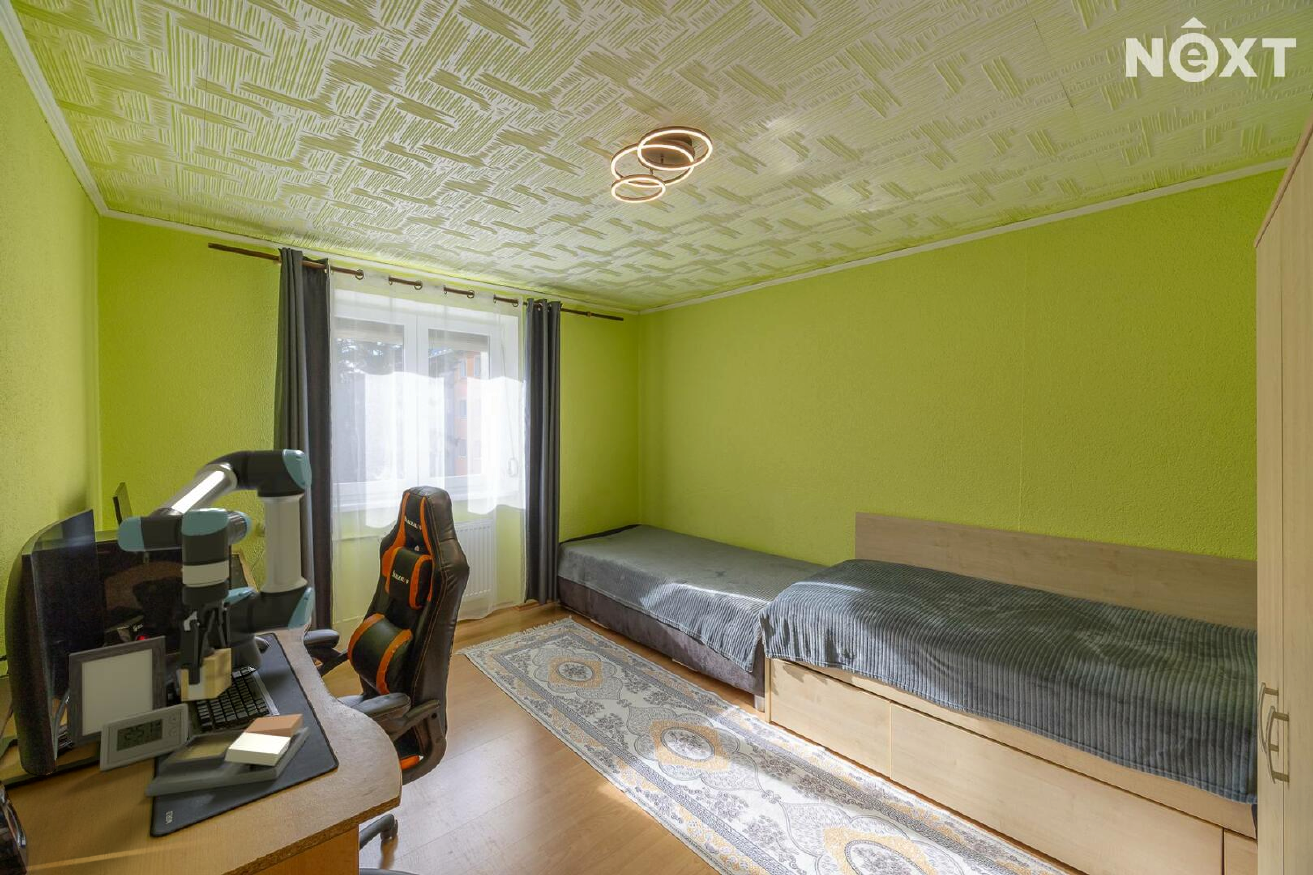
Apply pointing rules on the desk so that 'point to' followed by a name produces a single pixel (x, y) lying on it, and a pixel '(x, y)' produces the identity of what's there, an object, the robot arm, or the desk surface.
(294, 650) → the desk surface
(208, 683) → the tan wooden block
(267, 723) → the orange tan rectangular block
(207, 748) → the panel
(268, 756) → the rocker plain
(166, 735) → the digital clock
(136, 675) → the picture frame
